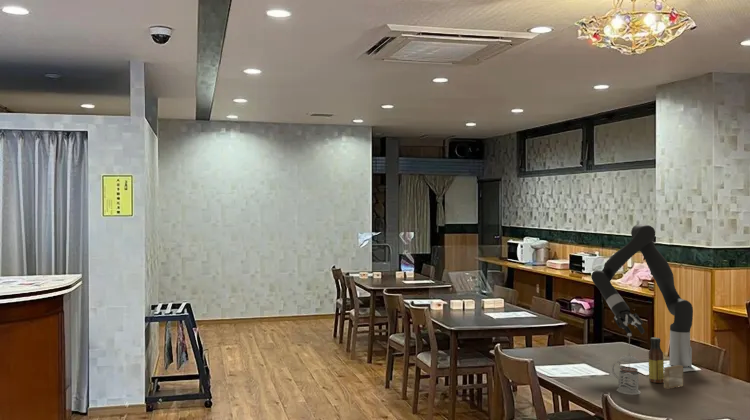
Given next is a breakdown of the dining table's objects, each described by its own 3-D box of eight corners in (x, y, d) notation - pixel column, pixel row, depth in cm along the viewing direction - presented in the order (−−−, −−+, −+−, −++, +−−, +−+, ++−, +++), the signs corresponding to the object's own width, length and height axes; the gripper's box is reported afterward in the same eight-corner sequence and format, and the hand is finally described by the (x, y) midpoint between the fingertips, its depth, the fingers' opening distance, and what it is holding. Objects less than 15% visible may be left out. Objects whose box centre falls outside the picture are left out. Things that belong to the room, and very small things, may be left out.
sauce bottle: (663, 380, 293) (663, 337, 293) (664, 384, 287) (665, 340, 287) (647, 379, 295) (648, 336, 295) (648, 382, 290) (649, 338, 289)
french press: (638, 396, 269) (639, 336, 269) (609, 391, 275) (610, 333, 275) (642, 390, 278) (643, 332, 277) (614, 386, 284) (615, 329, 283)
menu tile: (663, 387, 282) (664, 367, 282) (678, 385, 287) (679, 365, 287) (668, 389, 280) (668, 368, 280) (683, 386, 285) (683, 366, 285)
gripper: (611, 301, 305) (631, 330, 295) (632, 299, 312) (652, 327, 302) (602, 311, 310) (621, 339, 300) (623, 309, 316) (642, 336, 306)
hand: (637, 333), depth 301 cm, fingers open, 8 cm apart
